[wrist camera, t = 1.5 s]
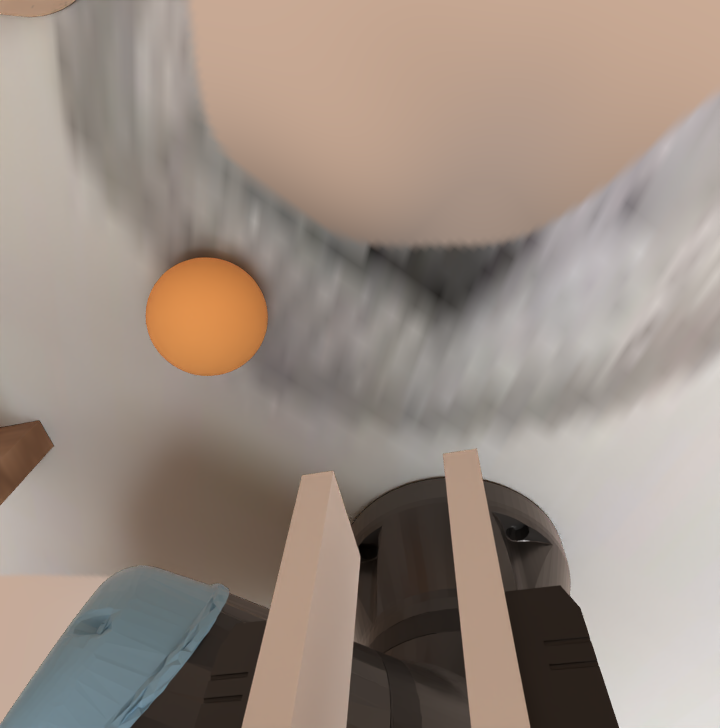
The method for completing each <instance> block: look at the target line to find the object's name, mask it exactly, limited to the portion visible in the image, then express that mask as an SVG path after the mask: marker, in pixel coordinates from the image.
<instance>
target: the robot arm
mask: <svg viewBox="0 0 720 728" xmlns="http://www.w3.org/2000/svg"><path fill="white" fill-rule="evenodd" d="M443 460H444V470H445V478H439V479H431V480H425V481H420V482H416V483H412V484H409V485H406V486H403V487H401V488H398V489H396V490H394V491H391V492H389V493H387V494H386V495H384V496H382V497H381V498H379V499H377V500H376V501H375V502H373V503H372V504H371V505H369V506H368V507H367V508H366V509H365V510H364V511H363V512H362V513H361V514H360V515H359V516H358V517H357V519H356V520H355V521H354V523H353V524H352V526H351V525H350V522H349V519H348V515H347V512H346V509H345V506H344V503H343V500H342V496H341V493H340V490H339V487H338V484H337V481H336V477H335V474H334V471H327V472H321V473H314V474H308V475H302V478H301V482H300V486H299V490H298V494H297V498H296V503H295V507H294V511H293V515H292V519H291V523H290V528H289V532H288V536H287V540H286V544H285V548H284V553H283V557H282V561H281V565H280V569H279V573H278V578H277V582H276V586H275V590H274V594H273V599H272V603H271V607H270V609H268V608H266V607H263V606H261V605H258V604H255V603H253V602H250V601H248V600H245V599H243V598H240V597H238V596H235V595H233V594H230V593H229V589H228V588H227V587H225V586H224V585H222V584H219V583H216V584H213V585H208V584H205V583H202V582H199V581H196V580H193V579H190V578H187V577H183V576H180V575H177V574H174V573H171V572H168V571H165V570H162V569H159V568H156V567H151V566H134V567H129V568H126V569H124V570H121V571H119V572H118V573H116V574H114V575H112V576H111V577H110V578H108V579H107V580H106V581H105V582H103V583H102V585H100V587H99V588H98V589H97V590H96V591H95V592H94V594H93V595H92V596H91V598H90V599H89V600H88V601H87V602H86V604H85V605H84V606H83V608H82V609H81V610H80V612H79V613H78V614H77V616H76V617H75V618H74V620H73V621H72V622H71V624H70V625H69V627H68V628H67V629H66V631H65V632H64V633H63V635H62V636H61V638H60V639H59V640H58V642H57V643H56V644H55V646H54V647H53V649H52V650H51V651H50V653H49V654H48V656H47V657H46V659H45V660H44V661H43V663H42V664H41V666H40V667H39V669H38V670H37V671H36V673H35V674H34V676H33V677H32V679H31V680H30V681H29V683H28V684H27V686H26V687H25V689H24V691H23V692H22V693H21V695H20V696H19V697H18V699H17V700H16V702H15V703H14V705H13V706H12V708H11V709H10V711H9V712H8V714H7V715H6V717H5V718H4V720H3V721H2V722H1V724H0V728H619V726H618V723H617V720H616V717H615V714H614V711H613V708H612V704H611V701H610V698H609V695H608V692H607V689H606V686H605V683H604V680H603V677H602V674H601V671H600V667H599V666H598V662H597V658H596V655H595V652H594V649H593V646H592V643H591V641H590V637H589V634H588V630H587V627H586V624H585V621H584V618H583V615H582V612H581V609H580V607H579V606H578V605H577V604H576V603H575V601H574V600H573V599H572V598H571V597H570V585H571V582H570V571H569V565H568V562H567V558H566V555H565V552H564V549H563V546H562V543H561V540H560V537H559V535H558V532H557V530H556V528H555V527H554V525H553V523H552V522H551V521H550V519H549V518H548V517H547V515H546V514H545V513H544V512H543V511H542V510H541V509H540V508H539V507H538V506H536V505H535V504H534V503H533V502H531V501H530V500H528V499H527V498H525V497H524V496H522V495H520V494H518V493H517V492H515V491H512V490H510V489H508V488H505V487H503V486H500V485H497V484H494V483H490V482H486V481H483V478H482V473H481V468H480V463H479V458H478V452H477V449H471V450H464V451H458V452H451V453H445V454H443Z"/></svg>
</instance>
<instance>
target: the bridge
mask: <svg viewBox="0 0 720 728" xmlns="http://www.w3.org/2000/svg"><path fill="white" fill-rule="evenodd" d="M52 447H53V444H52V442H51V440H50V439H49V437H48V435H47V433H46V432H45V430H44V428H43V426H42V424H41V423H40V421H34V422H29V423H23V424H18V425H12V426H7V427H1V428H0V505H1V504H2V503H3V502H4V501H5V500H6V498H7V497H8V496H9V495H10V494H11V493H12V492H13V491H14V490H15V488H16V487H17V486H18V485H19V484H20V483H21V482H22V481H23V480H24V478H25V477H26V476H27V475H28V474H29V473H30V472H31V471H32V470H33V468H34V467H35V466H36V465H37V464H38V463H39V462H40V461H41V460H42V458H43V457H44V456H45V455H46V454H47V453H48V452H49V451H50V450H51V448H52Z"/></svg>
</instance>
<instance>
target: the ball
mask: <svg viewBox="0 0 720 728" xmlns="http://www.w3.org/2000/svg"><path fill="white" fill-rule="evenodd" d="M267 321H268V313H267V306H266V302H265V299H264V296H263V294H262V292H261V290H260V288H259V286H258V285H257V283H256V282H255V281H254V279H253V278H252V277H251V276H250V275H249V274H248V273H246V272H245V271H244V270H243V269H241V268H240V267H238V266H237V265H235V264H233V263H231V262H228V261H225V260H222V259H217V258H208V257H203V258H194V259H190V260H187V261H183V262H181V263H179V264H177V265H175V266H173V267H172V268H170V269H169V270H167V271H166V272H165V273H164V274H163V275H162V276H161V277H160V278H159V280H158V281H157V282H156V283H155V285H154V287H153V289H152V290H151V293H150V295H149V298H148V301H147V306H146V325H147V329H148V333H149V336H150V339H151V341H152V343H153V345H154V346H155V348H156V349H157V351H158V352H159V353H160V354H161V355H162V356H163V357H164V358H165V359H166V360H167V361H168V362H169V363H171V364H172V365H173V366H175V367H177V368H178V369H181V370H183V371H185V372H188V373H191V374H195V375H201V376H214V375H221V374H225V373H228V372H231V371H233V370H235V369H237V368H239V367H241V366H242V365H244V364H245V363H246V362H247V361H249V360H250V359H251V358H252V357H253V356H254V354H255V353H256V352H257V350H258V349H259V347H260V346H261V344H262V342H263V339H264V336H265V333H266V330H267Z"/></svg>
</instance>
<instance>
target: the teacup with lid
mask: <svg viewBox="0 0 720 728" xmlns="http://www.w3.org/2000/svg"><path fill="white" fill-rule="evenodd" d="M74 1H75V0H0V14H4V15H13V16H22V17H36V16H43V15H48V14H51V13H55V12H57V11H59V10H62V9H63V8H65V7H67V6H69V5H70V4H71V3H73V2H74Z"/></svg>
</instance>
